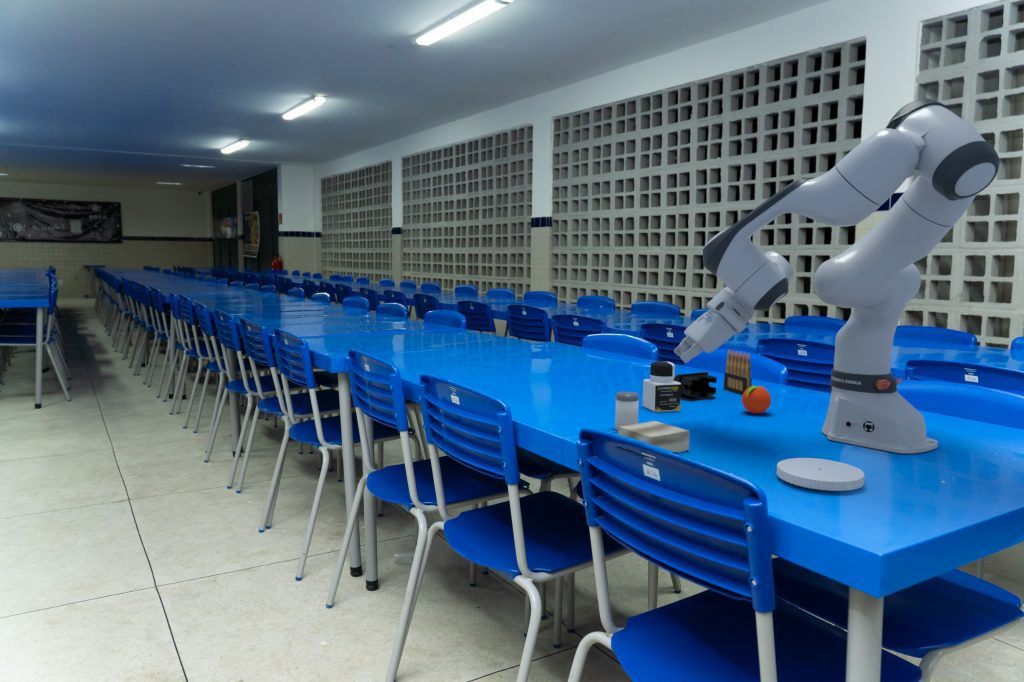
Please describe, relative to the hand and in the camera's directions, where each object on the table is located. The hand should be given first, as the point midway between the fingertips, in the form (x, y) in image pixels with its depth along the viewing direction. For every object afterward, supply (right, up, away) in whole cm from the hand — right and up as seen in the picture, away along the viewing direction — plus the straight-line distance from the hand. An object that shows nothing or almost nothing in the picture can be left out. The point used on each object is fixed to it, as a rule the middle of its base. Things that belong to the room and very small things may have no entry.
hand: (679, 357), depth 159 cm
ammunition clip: (+27, -11, +47) cm, 56 cm away
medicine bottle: (+1, -14, +25) cm, 29 cm away
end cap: (+13, -12, +39) cm, 43 cm away
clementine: (+23, -15, +20) cm, 34 cm away
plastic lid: (+17, -21, -33) cm, 43 cm away
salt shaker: (-11, -16, +3) cm, 20 cm away
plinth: (-8, -18, -13) cm, 24 cm away
